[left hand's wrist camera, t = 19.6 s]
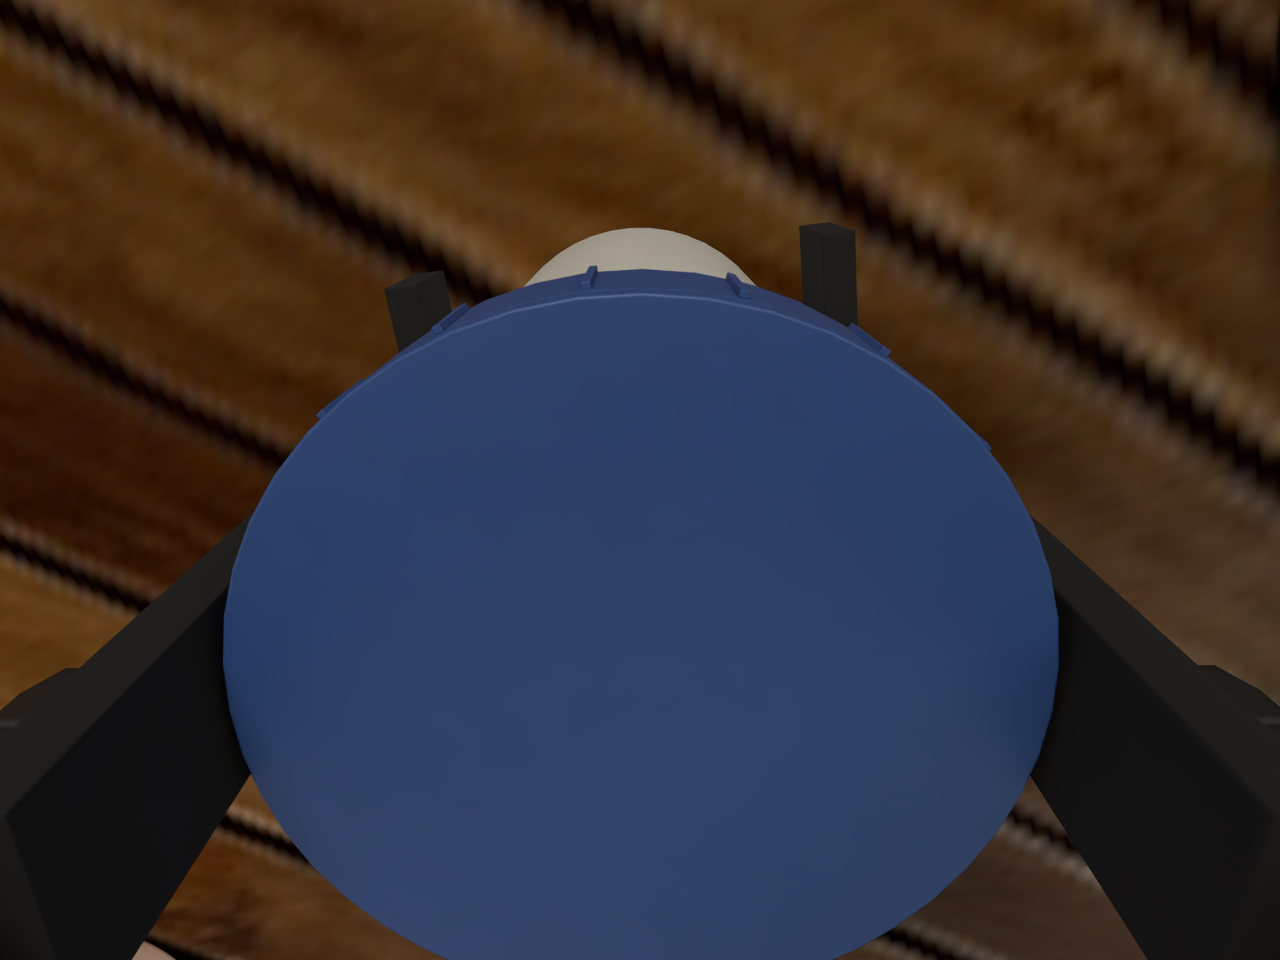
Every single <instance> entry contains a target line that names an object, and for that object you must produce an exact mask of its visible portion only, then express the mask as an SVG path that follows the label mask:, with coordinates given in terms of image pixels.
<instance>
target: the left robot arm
mask: <svg viewBox="0 0 1280 960" xmlns="http://www.w3.org/2000/svg"><path fill="white" fill-rule="evenodd" d="M254 512H255V511H253V512H252V513H251V514H250V515H249V516H248V517H247V518H246V519H245V520H243V521H242V522H241V523H240V524H239V525H238V526H237V527H236V528H235V529H233V530H232V531H231V532H230V533H229V534H228V535H227V536H226V537H225V538H223V539H222V540H221V541H220V542H219V543H218V544H217V545H216V546H214V547H213V548H212V549H211V550H210V551H209V552H208V553H207V554H206V555H204V556H203V557H202V558H201V559H200V560H199V561H198V562H197V563H196V564H194V565H193V566H192V567H191V568H190V569H189V570H188V571H187V572H186V573H184V574H183V575H182V576H181V577H180V578H179V579H178V580H177V581H176V582H174V583H173V584H172V585H171V586H170V587H169V588H168V589H167V590H166V591H164V592H163V593H162V594H161V595H160V596H159V597H158V598H157V599H156V600H154V601H153V602H152V603H151V604H150V605H149V606H148V607H147V608H146V609H144V610H143V611H142V612H141V613H140V614H139V615H138V616H137V617H136V618H134V619H133V620H132V621H131V622H130V623H129V624H128V625H127V626H125V627H124V628H123V629H122V630H121V631H120V632H119V633H118V634H117V635H115V636H114V637H113V638H112V639H111V640H110V641H109V642H108V643H107V644H105V645H104V646H103V647H102V648H101V649H100V650H99V651H98V652H97V653H95V654H94V655H93V656H92V657H91V658H90V659H89V660H88V661H87V662H85V663H84V664H83V665H82V666H81V667H80V668H66V669H64V670H62V671H60V672H58V673H57V674H55V675H53V676H51V677H49V678H47V679H46V680H44V681H42V682H40V683H38V684H36V685H35V686H33V687H31V688H29V689H27V690H26V691H24V692H22V693H20V694H19V695H18V696H17V697H16V698H15V699H13V700H12V701H11V702H10V703H9V704H8V705H6V706H5V707H4V708H3V709H2V710H1V711H0V960H132V959H133V957H134V956H135V954H136V953H137V951H138V950H139V948H140V947H141V945H142V943H143V942H144V940H145V939H146V937H147V936H148V934H149V932H150V931H151V929H152V928H153V926H154V925H155V923H156V921H157V920H158V918H159V917H160V915H161V914H162V912H163V910H164V909H165V907H166V906H167V904H168V903H169V901H170V900H171V898H172V896H173V895H174V893H175V892H176V890H177V889H178V887H179V885H180V884H181V882H182V881H183V879H184V878H185V876H186V874H187V873H188V871H189V870H190V868H191V867H192V865H193V863H194V862H195V860H196V859H197V857H198V856H199V854H200V853H201V851H202V849H203V848H204V846H205V845H206V843H207V842H208V840H209V838H210V837H211V835H212V834H213V832H214V831H215V829H216V827H217V826H218V824H219V823H220V821H221V820H222V818H223V816H224V815H225V813H226V812H227V810H228V809H229V807H230V806H231V804H232V802H233V801H234V799H235V798H236V796H237V795H238V793H239V791H240V790H241V788H242V787H243V785H244V784H245V782H246V780H247V779H248V777H249V776H250V774H251V772H250V770H249V768H248V765H247V763H246V761H245V759H244V757H243V755H242V752H241V748H240V745H239V742H238V738H237V735H236V731H235V728H234V725H233V721H232V718H231V714H230V711H229V705H228V697H227V690H226V683H225V675H224V668H223V639H224V613H225V608H226V602H227V597H228V591H229V586H230V580H231V575H232V569H233V566H234V563H235V560H236V557H237V555H238V552H239V549H240V546H241V543H242V540H243V538H244V535H245V532H246V529H247V526H248V524H249V521H250V519H251V517H252V515H253V513H254ZM1029 515H1030V514H1029ZM1030 517H1031V519H1032V521H1033V523H1034V526H1035V529H1036V531H1037V534H1038V537H1039V540H1040V543H1041V546H1042V549H1043V552H1044V555H1045V558H1046V560H1047V563H1048V566H1049V569H1050V574H1051V580H1052V585H1053V591H1054V597H1055V603H1056V608H1057V614H1058V638H1059V669H1058V676H1057V683H1056V690H1055V697H1054V703H1053V710H1052V715H1051V718H1050V721H1049V725H1048V728H1047V731H1046V734H1045V738H1044V741H1043V744H1042V748H1041V751H1040V754H1039V757H1038V759H1037V761H1036V763H1035V765H1034V768H1033V770H1032V772H1031V774H1030V776H1031V777H1032V779H1033V780H1034V782H1035V784H1036V785H1037V787H1038V788H1039V790H1040V791H1041V793H1042V795H1043V796H1044V798H1045V799H1046V801H1047V802H1048V804H1049V806H1050V807H1051V809H1052V810H1053V812H1054V813H1055V815H1056V817H1057V818H1058V820H1059V821H1060V823H1061V824H1062V826H1063V827H1064V829H1065V831H1066V832H1067V834H1068V835H1069V837H1070V838H1071V840H1072V842H1073V843H1074V845H1075V846H1076V848H1077V849H1078V851H1079V853H1080V854H1081V856H1082V857H1083V859H1084V860H1085V862H1086V864H1087V865H1088V867H1089V868H1090V870H1091V871H1092V873H1093V874H1094V876H1095V878H1096V879H1097V881H1098V882H1099V884H1100V885H1101V887H1102V889H1103V890H1104V892H1105V893H1106V895H1107V896H1108V898H1109V900H1110V901H1111V903H1112V904H1113V906H1114V907H1115V909H1116V911H1117V912H1118V914H1119V915H1120V917H1121V918H1122V920H1123V921H1124V923H1125V925H1126V926H1127V928H1128V929H1129V931H1130V932H1131V934H1132V936H1133V937H1134V939H1135V940H1136V942H1137V943H1138V945H1139V947H1140V948H1141V950H1142V951H1143V953H1144V954H1145V956H1146V958H1147V959H1148V960H1280V707H1279V706H1278V705H1277V704H1276V703H1274V702H1273V701H1272V700H1271V699H1270V698H1269V697H1267V696H1266V695H1265V694H1264V693H1263V692H1262V691H1260V690H1259V689H1257V688H1255V687H1253V686H1251V685H1250V684H1248V683H1246V682H1244V681H1242V680H1240V679H1239V678H1237V677H1235V676H1233V675H1231V674H1229V673H1227V672H1226V671H1224V670H1222V669H1220V668H1218V667H1216V666H1215V665H1197V664H1196V663H1195V662H1193V661H1192V660H1191V659H1190V658H1189V657H1188V656H1187V655H1186V654H1185V653H1183V652H1182V651H1181V650H1180V649H1179V648H1178V647H1177V646H1176V645H1175V644H1173V643H1172V642H1171V641H1170V640H1169V639H1168V638H1167V637H1166V636H1164V635H1163V634H1162V633H1161V632H1160V631H1159V630H1158V629H1157V628H1156V627H1154V626H1153V625H1152V624H1151V623H1150V622H1149V621H1148V620H1147V619H1146V618H1144V617H1143V616H1142V615H1141V614H1140V613H1139V612H1138V611H1137V610H1136V609H1134V608H1133V607H1132V606H1131V605H1130V604H1129V603H1128V602H1127V601H1126V600H1124V599H1123V598H1122V597H1121V596H1120V595H1119V594H1118V593H1117V592H1116V591H1114V590H1113V589H1112V588H1111V587H1110V586H1109V585H1108V584H1107V583H1106V582H1104V581H1103V580H1102V579H1101V578H1100V577H1099V576H1098V575H1097V574H1096V573H1094V572H1093V571H1092V570H1091V569H1090V568H1089V567H1088V566H1087V565H1086V564H1084V563H1083V562H1082V561H1081V560H1080V559H1079V558H1078V557H1077V556H1075V555H1074V554H1073V553H1072V552H1071V551H1070V550H1069V549H1068V548H1067V547H1065V546H1064V545H1063V544H1062V543H1061V542H1060V541H1059V540H1058V539H1057V538H1055V537H1054V536H1053V535H1052V534H1051V533H1050V532H1049V531H1048V530H1047V529H1045V528H1044V527H1043V526H1042V525H1041V524H1040V523H1039V522H1038V521H1037V520H1035V519H1034V518H1033V517H1032V516H1031V515H1030Z"/></svg>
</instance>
